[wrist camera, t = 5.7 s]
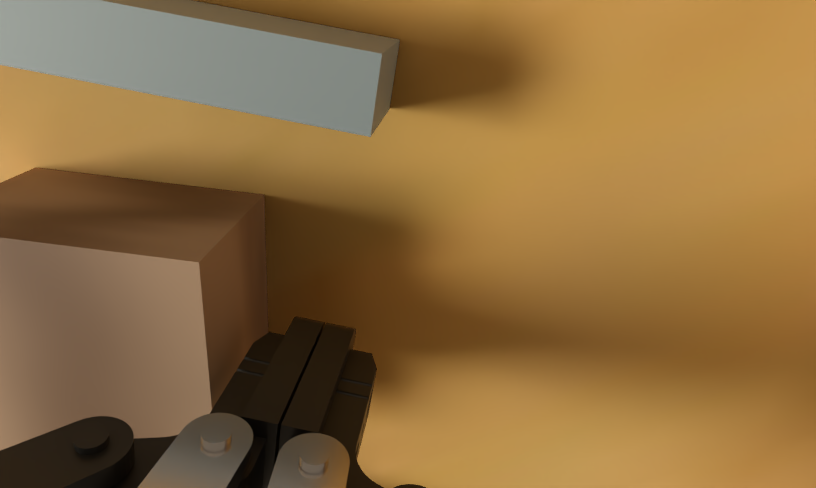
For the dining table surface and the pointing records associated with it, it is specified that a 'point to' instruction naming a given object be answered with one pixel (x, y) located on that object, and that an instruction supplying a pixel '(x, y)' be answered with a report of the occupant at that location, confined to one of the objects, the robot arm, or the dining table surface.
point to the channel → (208, 57)
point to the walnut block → (123, 300)
